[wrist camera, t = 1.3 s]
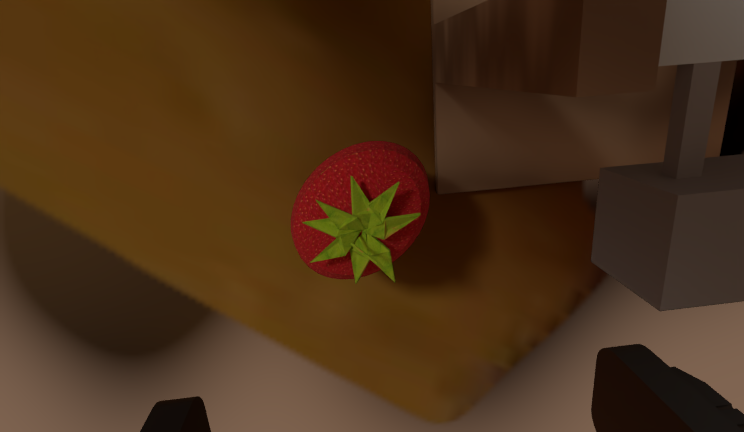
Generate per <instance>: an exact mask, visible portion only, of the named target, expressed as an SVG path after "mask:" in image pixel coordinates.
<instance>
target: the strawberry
mask: <svg viewBox="0 0 744 432" xmlns="http://www.w3.org/2000/svg"><path fill="white" fill-rule="evenodd" d="M429 200H430V193H429V184H428V177H427V174H426V171H425V169H424V166H423V165H422V163H421V162H420V160H419V159H418V158H417V156H416V155H414V154H413V153H412V152H411V151H409V150H408V149H407V148H405V147H402V146H400V145H398V144H396V143H391V142H385V141H368V142H364V143H359V144H355V145H352V146H350V147H347V148H345V149H343V150H340V151H339V152H337V153H336V154H334V155H332V156H331V157H329V158H328V159H326V160H325V161H324V162H323V163H322V164H321V165H319V166H318V167H317V168H316V169H315V170H314V171H313V173H312V174H311V175H310V176H309V177H308V178H307V180H306V181H305V183H304V184H303V186H302V188H301V189H300V191H299V193H298V195H297V198H296V200H295V203H294V206H293V210H292V216H291V233H292V237H293V241H294V244H295V247H296V249H297V251H298V253H299V255H300V257H301V259H302V260H303V261H304V262H305V263H306V265H307V266H308V267H309V268H311V269H312V270H314V271H315V272H317V273H318V274H321V275H324V276H326V277H329V278H336V279H354V278H355V284H356V283H357V282H358V280H359V279H360V277H363V276H367V275H370V274H372V273H375V272H377V271H379V270H382V271H383V272H384V273H385V274H386V275H387V276H388V277H389V278H391V279H392V280H393V281H394V282H395V275H394V270H393V264H392V262H394V261H395V260H396V259H397V258H399V257H400V256H401V255H402V254H403V253H404V252H405V251H406V250H407V249H408V248H409V247H410V246H411V245H412V243H413V242H414V240H415V239H416V238H417V236H418V235H419V233H420V231H421V229H422V227H423V225H424V223H425V220H426V217H427V213H428V210H429Z"/></svg>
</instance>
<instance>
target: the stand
mask: <svg viewBox="0 0 744 432" xmlns="http://www.w3.org/2000/svg"><path fill="white" fill-rule="evenodd" d="M666 5H667V0H431V28H432V65H433V102H434V140H435V177H436V193H437V194H449V193H459V192H469V191H479V190H490V189H500V188H510V187H520V186H531V185H541V184H551V183H561V182H571V181H582V180H592V179H599V174H600V168H604V167H614V166H625V165H635V164H645V163H656V162H663V161H664V154H665V147H666V140H667V133H668V126H669V120H670V113H671V106H672V99H673V92H674V85H675V78H676V71H677V65H669V66H658V65H659V58H660V50H661V43H662V35H663V27H664V20H665V12H666ZM743 60H744V59H743ZM736 64H737V60H731V61H722V62H721V68H720V74H719V79H718V85H717V91H716V97H715V102H714V108H713V114H712V119H711V125H710V131H709V136H708V142H707V148H706V154H705V158H708V157H718V156H720V150H721V145H722V139H723V134H724V129H725V123H726V118H727V113H728V107H729V102H730V96H731V91H732V86H733V80H734V75H735V70H736Z"/></svg>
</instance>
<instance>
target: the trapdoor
mask: <svg viewBox="0 0 744 432" xmlns="http://www.w3.org/2000/svg"><path fill="white" fill-rule="evenodd" d="M743 59H744V0H667V5H666V12H665V20H664V27H663V35H662V43H661V50H660V58H659V65H658V66H669V65H677V71H676V78H675V85H674V92H673V99H672V106H671V113H670V120H669V126H668V133H667V140H666V147H665V154H664V161H663V162H656V163H645V164H635V165H625V166H614V167H604V168H600V174H599V184H598V194H597V205H596V215H595V225H594V235H593V245H592V256H591V262H592V263H594V264H595V265H597V266H598V267H599V268H601V269H602V270H603V271H605V272H606V273H608V274H609V275H610V276H612V277H613V278H615V279H616V280H617V281H619V282H620V283H622V284H623V285H624V286H626V287H627V288H629V289H630V290H631V291H633V292H634V293H635V294H637V295H638V296H639V297H641V298H643V299H644V300H645V301H646V302H648V303H649V304H651V305H652V306H653V307H655V308H656V309H657V310H659V311H665V310H674V309H681V308H690V307H699V306H707V305H715V304H724V303H732V302H740V301H744V154H739V155H729V156H718V157H708V158H705V154H706V148H707V142H708V136H709V131H710V125H711V119H712V114H713V108H714V102H715V97H716V91H717V85H718V79H719V74H720V68H721V62H722V61H731V60H743Z"/></svg>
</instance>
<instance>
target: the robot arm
mask: <svg viewBox="0 0 744 432" xmlns="http://www.w3.org/2000/svg"><path fill="white" fill-rule="evenodd" d="M591 412H592V419H593V423H594V426H595V429H596V432H744V414H743V413H742V412H740V411H739V410H738V409H733V408H732V404H731V403H729V402H728V401H727V400H725V398H723V397H722V396H721V395H719V393H717V392H716V391H715V390H713V389H712V388H711V387H710V386H709V385H708V384H706V383H705V382H703V381H701V380H699V379H697V378H695V377H693V376H691V375H689V374H687V373H686V372H684V371H682V370H680V369H678V368H676V367H669V366H668V365H667V364H665V363H664V362H663V361H662V360H661V359H660V358H659V357H657V356H656V355H655V354H654V353H653V352H652V351H651V350H649V349H648V348H647V347H645V346H643V345H640V344H634V345H626V346H618V347H610V348H603V349H601V350H600V351H599V352H598V355H597V360H596V369H595V379H594V388H593V398H592V408H591ZM140 432H211V430H210V426H209V422H208V418H207V414H206V410H205V406H204V402H203V400H202V399H201V398H200V397H190V398H182V399H174V400H165V401H159V402H157V403H156V404H155V406H154V407H153V409H152V410H151V412H150V414H149V416H148V418H147V420H146V422H145V424H144V426H143V427H142V429H141V431H140Z"/></svg>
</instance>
